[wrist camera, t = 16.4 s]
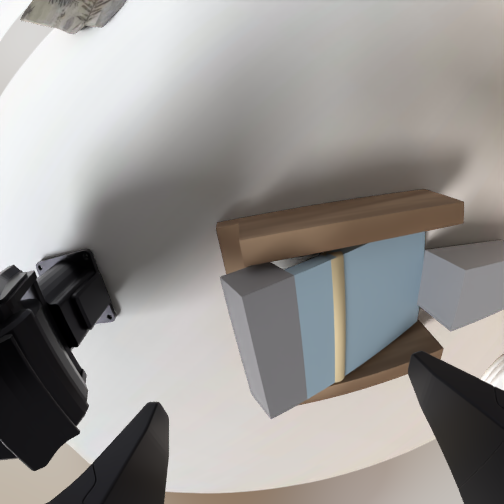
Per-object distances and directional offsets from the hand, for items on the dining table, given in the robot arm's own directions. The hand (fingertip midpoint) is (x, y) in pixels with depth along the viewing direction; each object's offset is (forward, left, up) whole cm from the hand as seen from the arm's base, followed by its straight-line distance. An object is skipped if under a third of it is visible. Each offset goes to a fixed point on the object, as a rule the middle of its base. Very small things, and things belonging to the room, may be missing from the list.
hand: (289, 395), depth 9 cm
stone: (+13, -4, -10) cm, 17 cm away
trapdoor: (+5, -4, -12) cm, 13 cm away
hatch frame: (+6, -4, -13) cm, 15 cm away
